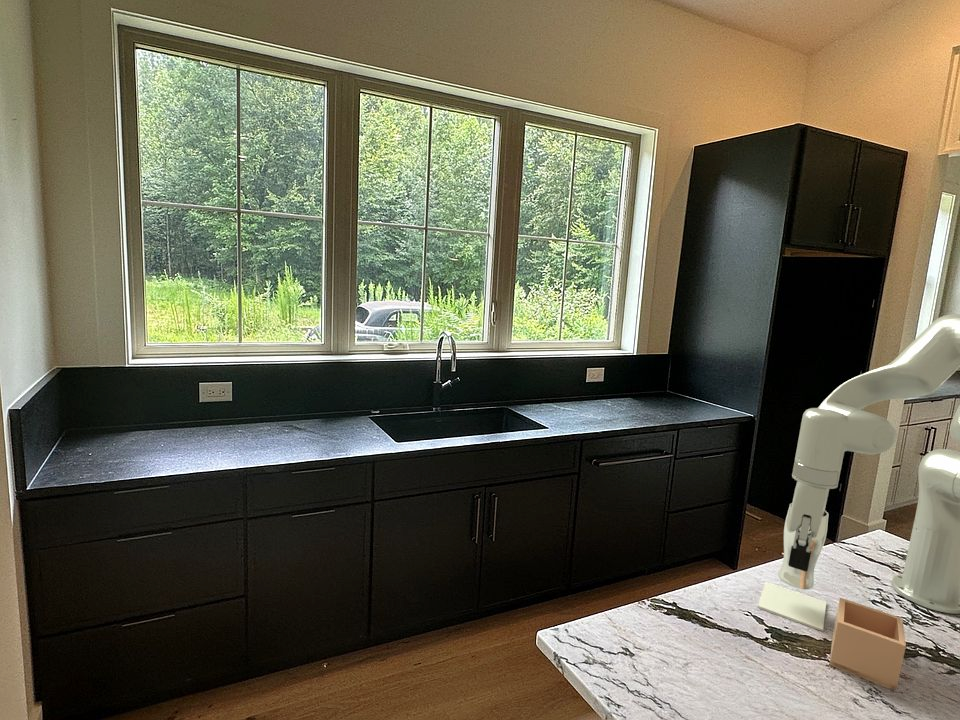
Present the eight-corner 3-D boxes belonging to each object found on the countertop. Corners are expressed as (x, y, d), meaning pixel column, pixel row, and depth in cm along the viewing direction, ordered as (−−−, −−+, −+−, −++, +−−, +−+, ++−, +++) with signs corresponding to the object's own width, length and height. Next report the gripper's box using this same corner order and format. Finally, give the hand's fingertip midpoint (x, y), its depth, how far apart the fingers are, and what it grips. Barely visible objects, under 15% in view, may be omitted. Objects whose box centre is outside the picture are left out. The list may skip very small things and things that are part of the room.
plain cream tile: (765, 583, 116) (765, 581, 116) (826, 603, 110) (826, 602, 110) (757, 607, 107) (757, 605, 107) (822, 631, 101) (823, 629, 101)
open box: (832, 637, 99) (839, 597, 98) (893, 660, 94) (902, 618, 93) (829, 665, 92) (837, 622, 91) (896, 691, 87) (905, 645, 86)
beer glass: (822, 594, 104) (836, 520, 101) (782, 587, 105) (795, 514, 102) (808, 574, 110) (821, 505, 108) (770, 568, 112) (783, 499, 109)
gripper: (797, 457, 113) (783, 538, 116) (788, 480, 99) (772, 572, 102) (840, 467, 109) (824, 551, 112) (837, 492, 95) (818, 587, 98)
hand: (799, 560), depth 107 cm, fingers closed on beer glass, 6 cm apart
